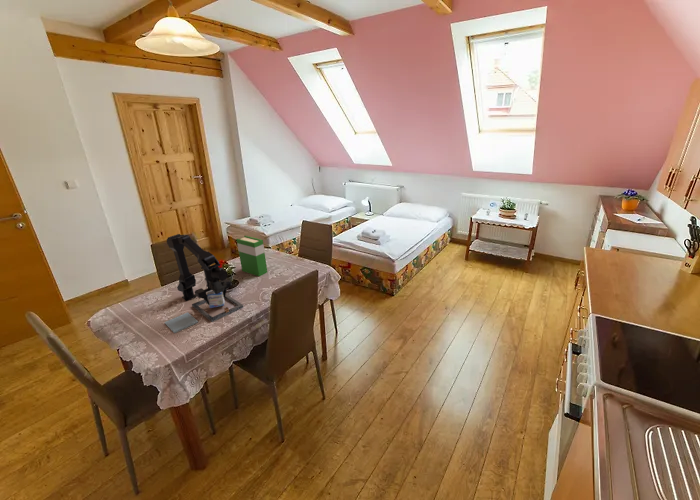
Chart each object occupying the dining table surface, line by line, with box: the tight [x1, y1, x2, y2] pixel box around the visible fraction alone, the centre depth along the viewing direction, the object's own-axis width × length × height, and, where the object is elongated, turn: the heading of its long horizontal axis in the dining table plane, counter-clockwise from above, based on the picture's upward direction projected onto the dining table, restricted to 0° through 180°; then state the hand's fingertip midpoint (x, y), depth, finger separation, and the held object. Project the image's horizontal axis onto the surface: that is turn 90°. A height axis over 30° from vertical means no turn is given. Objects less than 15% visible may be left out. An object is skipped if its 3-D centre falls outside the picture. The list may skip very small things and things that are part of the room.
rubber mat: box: [164, 311, 199, 334], centre depth 167 cm, size 13×12×1 cm
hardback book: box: [236, 235, 268, 277], centre depth 218 cm, size 18×7×24 cm, turn 57°
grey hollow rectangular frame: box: [191, 293, 244, 323], centre depth 180 cm, size 24×19×4 cm
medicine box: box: [206, 290, 226, 309], centre depth 178 cm, size 8×4×9 cm, turn 106°
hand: (216, 301), depth 179 cm, fingers closed on medicine box, 9 cm apart
